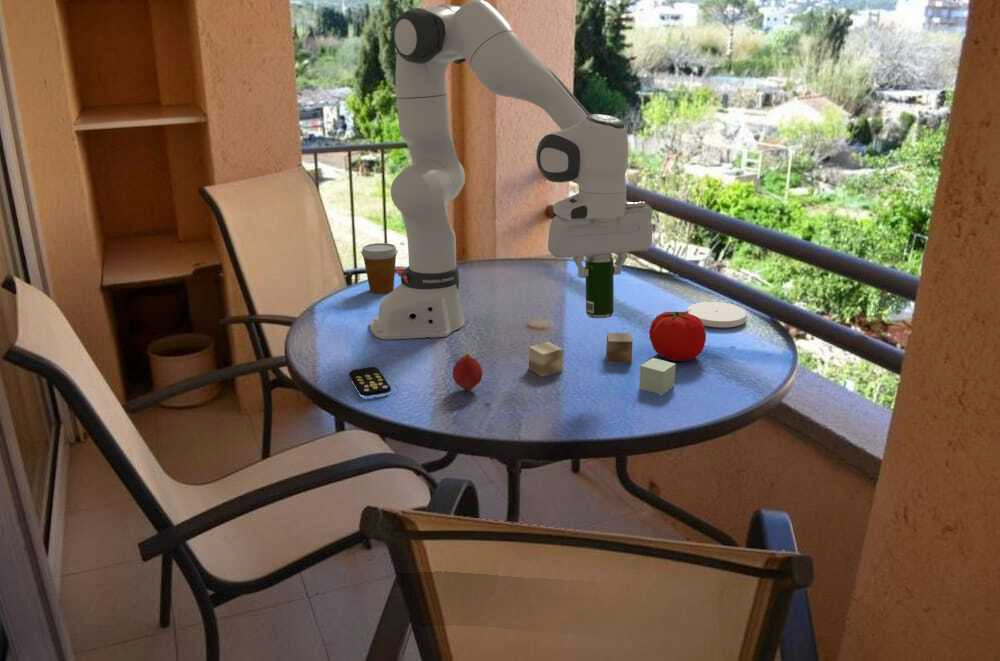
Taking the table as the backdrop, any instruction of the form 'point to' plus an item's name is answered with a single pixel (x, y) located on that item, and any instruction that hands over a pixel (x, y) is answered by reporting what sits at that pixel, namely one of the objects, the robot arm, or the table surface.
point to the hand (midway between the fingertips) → (599, 275)
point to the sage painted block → (657, 375)
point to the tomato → (677, 335)
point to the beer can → (599, 286)
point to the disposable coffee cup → (380, 266)
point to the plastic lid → (718, 314)
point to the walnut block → (619, 348)
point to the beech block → (545, 358)
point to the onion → (467, 372)
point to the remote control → (369, 381)
